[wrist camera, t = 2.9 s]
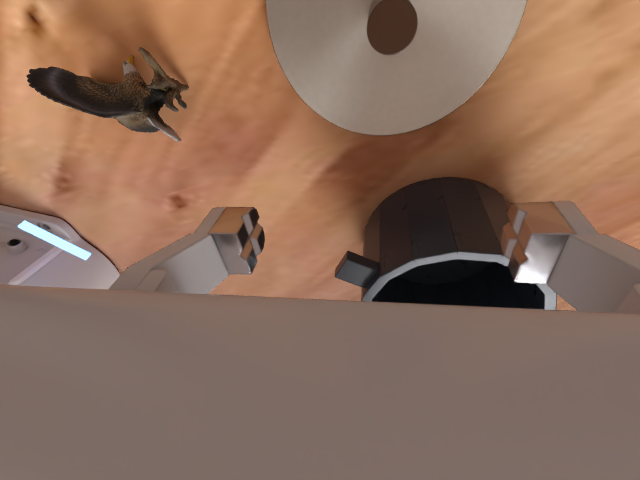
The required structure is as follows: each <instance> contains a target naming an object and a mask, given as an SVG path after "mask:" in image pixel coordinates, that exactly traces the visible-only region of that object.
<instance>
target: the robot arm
mask: <svg viewBox="0 0 640 480" xmlns="http://www.w3.org/2000/svg"><path fill="white" fill-rule="evenodd" d="M506 215H507V217H508V219H509V222H508V223H507V224H506V225H504V226H503V228H502V233H501V250H502V253H503V255H504V256H505V257H506V258H507V259H509V260H510V261H509V264H508V268H509V270H510V273H511V275H512V278H513V280H514V282H519V283H538V284H547V286H548V287H549V288H551V289H552V290H553V291H554V292H556V293H557V294H558V295H559V296H560V297H562V298H563V299H564V300H565V301H566V302H568V303H569V304H570V305H571V306H572V307H574V308H575V309H576V310H577V311H569V310H546V309H524V308H502V307H480V306H459V305H437V304H415V303H393V302H370V301H348V300H326V299H304V298H282V297H260V296H239V295H217V294H208V293H209V292H210V291H212V290H213V289H214V288H215V287H216V286H217V285H219V284H220V283H221V282H222V281H223V280H224V279H226V278H227V277H228V276H229V274H252V272H253V270H254V268H255V265H256V263H257V258H256V256H257V255H259V254H260V253H261V252H262V250H263V248H264V242H265V236H264V231H263V227H261V226H260V225H259V224H258V223H257V221H258V219H259V215H258V212H257V209H255V208H254V207H216V208H212V210H211V211H210V212H209V214H208V215H207V216H206V218H205V219H204V220H203V222H202V223H201V224H200V226H199V227H198V228H197V230H196V231H195V232H194V233H193V234H188V235H186V236H184V237H183V238H181V239H179V240H177V241H175V242H173V243H172V244H170V245H168V246H166V247H164V248H162V249H161V250H159V251H157V252H155V253H153V254H151V255H149V256H148V257H146V258H144V259H142V260H140V261H138V262H137V263H135V264H133V265H131V266H129V267H127V268H126V270H125V271H124V272H123V273H122V274H121V275H120V274H119V272H118V271H117V269H116V268H115V266H114V265H113V264H112V263H111V262H110V261H109V260H108V259H107V258H106V257H105V256H104V255H103V254H102V253H100V252H99V251H98V250H97V249H95V248H94V247H92V246H91V245H90V244H88V243H87V242H86V241H84V240H83V239H82V238H81V237H80V236H79V235H78V234H77V233H76V232H75V231H74V229H73V228H72V227H71V226H70V225H69V224H67V223H66V222H65V221H63V220H62V219H59V218H57V217H52V216H48V215H43V214H39V213H35V212H30V211H26V210H21V209H17V208H12V207H8V206H3V205H0V480H640V250H639V249H637V248H634V247H632V246H630V245H628V244H626V243H623V242H621V241H619V240H617V239H615V238H613V237H610V236H608V235H606V234H599V233H598V232H597V231H596V230H595V228H594V227H593V226H592V225H591V223H590V222H589V221H588V220H587V218H586V217H585V216H584V215H583V213H582V212H581V211H580V210H579V208H578V207H577V206H576V205H575V204H574V202H572V201H550V202H528V203H511V204H510V206H509V208H508V211H507V214H506Z"/></svg>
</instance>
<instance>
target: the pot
mask: <svg viewBox="0 0 640 480" xmlns="http://www.w3.org/2000/svg"><path fill="white" fill-rule="evenodd" d="M509 206H510V204H509V202H508V201H507V200H506V199H505V198H504V197H503V195H501V194H500V193H499V192H497V191H496V190H495V189H493V188H491V187H489V186H487V185H485V184H483V183H480V182H477V181H473V180H469V179H464V178H435V179H429V180H424V181H420V182H417V183H414V184H411V185H409V186H406V187H404V188H402V189H400V190H398V191H397V192H395V193H393V194H392V195H390V196H389V197H388V198H386V199H385V200H384V201H383V202H382V203H381V204H380V205H379V206H378V207H377V208H376V210H375V211H374V212H373V213H372V215H371V217H370V219H369V221H368V223H367V225H366V228H365V238H364V249H363V256H360V255H358V254H355V253H352V252H350V251H347V252H346V254H345V255H344V257H343V258H342V260H341V261H340V263H339V264H338V266H337V267H336V270H335V277H336V278H338V279H341V280H344V281H346V282H349V283H352V284H355V285H357V286H360V287H362V292H361V301H370V302H393V303H415V304H437V305H459V306H480V307H502V308H524V309H546V310H556V304H557V293H556V292H554V291H553V290H552V289H551V288H549V287H548V286H547V284H538V283H519V282H514V280H513V278H512V275H511V273H510V270H509V268H508V264H509V261H510V260H509V259H507V258H506V257H505V256H504V255H503V253H502V250H501V233H502V228H503V226H504V225H506V224H507V223H508V222H509V219H508V217H507V215H506V214H507V211H508V208H509Z"/></svg>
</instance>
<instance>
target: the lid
mask: <svg viewBox="0 0 640 480" xmlns="http://www.w3.org/2000/svg"><path fill="white" fill-rule="evenodd" d="M526 3H527V0H266V12H267V20H268V26H269V32H270V36H271V40H272V44H273V48H274V51H275V54H276V56H277V59H278V61H279V64H280V66H281V68H282V70H283V72H284V74H285V76H286V78H287V80H288V81H289V83H290V84H291V86H292V87H293V89H294V90H295V92H296V93H297V94H298V95H299V96H300V98H301V99H302V100H303V101H304V102H305V103H306V104H307V105H308V106H309V107H310V108H311V109H312V110H313V111H315V112H316V113H317V114H318V115H320V116H321V117H323V118H324V119H326V120H327V121H329V122H331V123H333V124H335V125H336V126H338V127H341V128H343V129H346V130H349V131H352V132H356V133H360V134H366V135H376V136H380V135H395V134H402V133H407V132H410V131H414V130H418V129H420V128H423V127H425V126H428V125H430V124H432V123H434V122H436V121H438V120H440V119H442V118H444V117H445V116H447V115H448V114H450V113H451V112H453V111H454V110H456V109H457V108H458V107H460V106H461V105H462V104H463V103H464V102H466V101H467V100H468V99H469V98H470V97H471V96H472V95H473V94H474V93H475V92H476V91H477V90H478V89H479V88H480V87H481V86H482V85H483V84H484V83H485V82H486V80H487V79H488V78H489V77H490V75H491V74H492V73H493V72H494V70H495V69H496V67H497V66H498V64H499V63H500V61H501V60H502V58H503V57H504V55H505V53H506V52H507V50H508V48H509V46H510V44H511V42H512V40H513V38H514V36H515V34H516V32H517V29H518V27H519V24H520V22H521V19H522V17H523V14H524V10H525V7H526Z"/></svg>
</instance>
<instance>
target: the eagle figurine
mask: <svg viewBox="0 0 640 480" xmlns="http://www.w3.org/2000/svg"><path fill="white" fill-rule="evenodd" d="M139 52H140V53H141V54H142V56H143V57H144V59H145V60H146V61H147V63H148V64H149V65H150V66H151V68H152V69H153V70H154V78H153V79H152V83H151V84H150V85H146V83H145V82H144V80H143V79H142V78H141V76H140V75H139V73H138V72H137V69H136V67H135V65H134V62H133V56H129V58H128V60H127V61H126V62H124V63H123V71H124V79H123V81H122V82H120V83H115V84H106V83H102V82H99V81H97V80H94V79H92V78H89V77H84V76H77V75H75V74H74V73H72V72H69V71H67V70H64V69H61V68H57V67H48V68H37V69H30V70H29V73H30V74H28V75H27V78H28V80H27V81H28V82H29V83H30V84H29V86H31V87H32V88H35V90H36V91H37V92H40V93H41V95H44V96H46V97H47V98H48V99H51V100H53V101H55V102H58V103H61V104H63V105H66V106H69V107H72V108H74V109H77V110H80V111H82V112H86V113H89V114H93V115H96V116H100V117H103V118H115V119H117V120H118V122H119V123H121V124H122V125H124V126H126V127H127V128H129V129H130V130H133V131H137V132H157V131H158V130H161V131H163V132H164V133H166V134H167V135H168V136H170V137H171V138H173V139H174V140H175V141H177V142H179V141H181V139H180V138H179V136H178V135H177V133H176V132H175V131H174V130H173V129H172V128H171V127H169V126H168V125H167V124H165V123H164V122H163V120H162V119H161V117H160V116H159V114H158V112H159V110H160V108H161V107H163V105H164V104H165V105H166V107H167V108H170V109H171V110H173V111H175V112H177V111H178V109H177V108H176V107H175V106H174V105H173V99H174V98H176V99H177V101H178V103H179V105H180V106H182V107H183V108H184V109H186V108H187V105H186V103H185V102H184V101H182V99H181V95H180V92H182V91H184V90H188V88H189V86H188V85H185V84H181V83H180V82H179V81H178V80H174V79H173V78H172V79H171V78H170V77H169V76H168V75H166V73H165V72H164V71H163V69H162V68H161V67H160V66H159V64H158V63H157V62H156V61H155V59H154V58H153V57H152V55H151V54H150V53H149V52H148V51H147V50H145V49H143V48H142V47H140V48H139Z"/></svg>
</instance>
